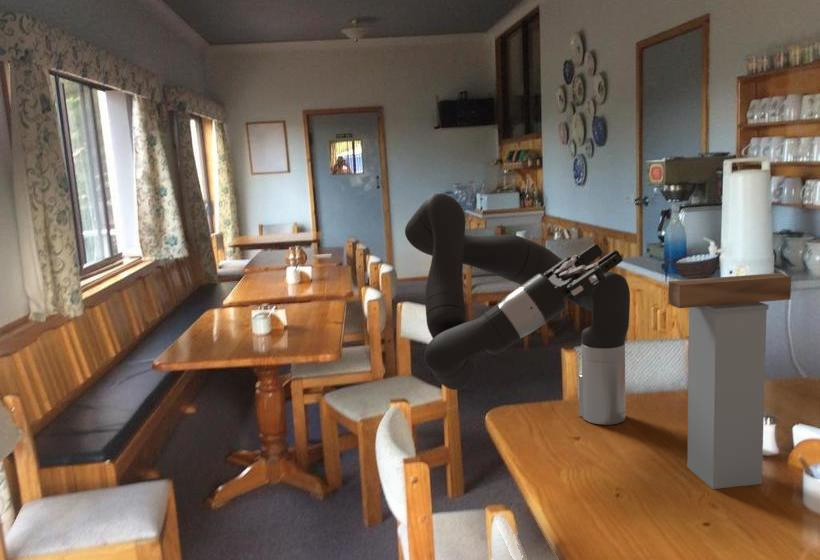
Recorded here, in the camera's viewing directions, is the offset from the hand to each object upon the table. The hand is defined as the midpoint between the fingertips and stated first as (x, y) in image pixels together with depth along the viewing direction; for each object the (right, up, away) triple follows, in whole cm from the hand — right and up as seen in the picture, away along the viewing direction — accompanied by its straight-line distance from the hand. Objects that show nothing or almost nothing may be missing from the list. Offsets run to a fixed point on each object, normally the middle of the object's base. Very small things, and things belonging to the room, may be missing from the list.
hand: (609, 251), depth 121 cm
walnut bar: (+22, -9, +3) cm, 23 cm away
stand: (+23, -40, +8) cm, 47 cm away
